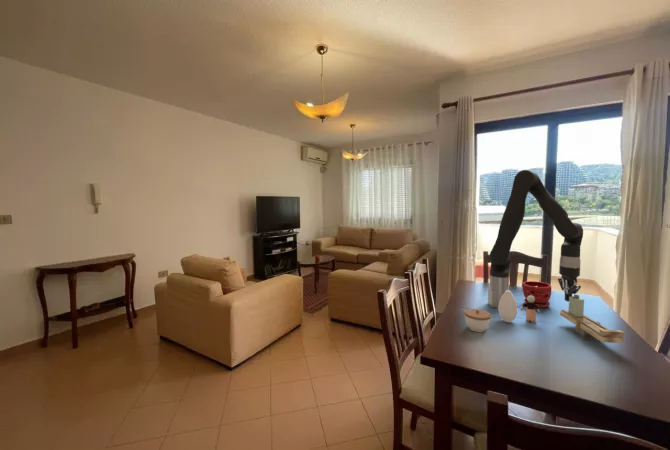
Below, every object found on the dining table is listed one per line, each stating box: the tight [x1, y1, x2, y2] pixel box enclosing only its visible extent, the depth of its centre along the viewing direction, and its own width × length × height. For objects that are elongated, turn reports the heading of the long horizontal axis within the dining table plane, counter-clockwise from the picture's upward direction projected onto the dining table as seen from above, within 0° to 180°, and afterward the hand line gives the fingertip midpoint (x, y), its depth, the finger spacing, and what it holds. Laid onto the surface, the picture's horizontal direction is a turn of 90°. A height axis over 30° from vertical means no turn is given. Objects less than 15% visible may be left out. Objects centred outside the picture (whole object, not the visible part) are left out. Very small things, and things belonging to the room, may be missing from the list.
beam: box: [559, 309, 625, 344], centre depth 121 cm, size 8×26×8 cm, turn 171°
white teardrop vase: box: [497, 285, 518, 323], centre depth 136 cm, size 8×8×18 cm
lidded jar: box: [464, 308, 492, 333], centre depth 130 cm, size 11×11×9 cm
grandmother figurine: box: [520, 296, 541, 323], centre depth 137 cm, size 8×4×13 cm, turn 65°
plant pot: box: [522, 280, 552, 308], centre depth 157 cm, size 13×13×12 cm
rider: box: [567, 294, 585, 317], centre depth 128 cm, size 4×4×9 cm
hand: (568, 301), depth 134 cm, fingers closed
